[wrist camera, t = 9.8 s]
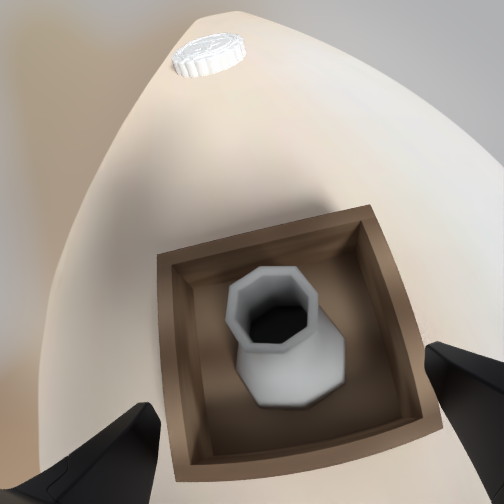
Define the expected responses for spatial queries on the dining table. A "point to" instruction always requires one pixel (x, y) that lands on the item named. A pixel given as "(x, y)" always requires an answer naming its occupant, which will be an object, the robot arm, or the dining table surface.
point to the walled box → (341, 314)
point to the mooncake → (209, 55)
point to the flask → (284, 339)
